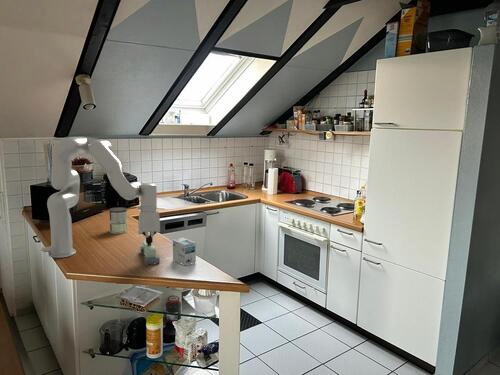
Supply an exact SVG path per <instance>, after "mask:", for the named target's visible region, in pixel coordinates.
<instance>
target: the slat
mask: <svg viewBox="0 0 500 375" xmlns="http://www.w3.org/2000/svg"><path fill="white" fill-rule="evenodd" d="M142 246H143V256H144V255H145V256H146V257H147V258H155V257H156V255H157V251H156V247H155V246H154V244H153V242H152V243H151V245H148V244H147V243H146V239H144V240H142Z"/></svg>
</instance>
